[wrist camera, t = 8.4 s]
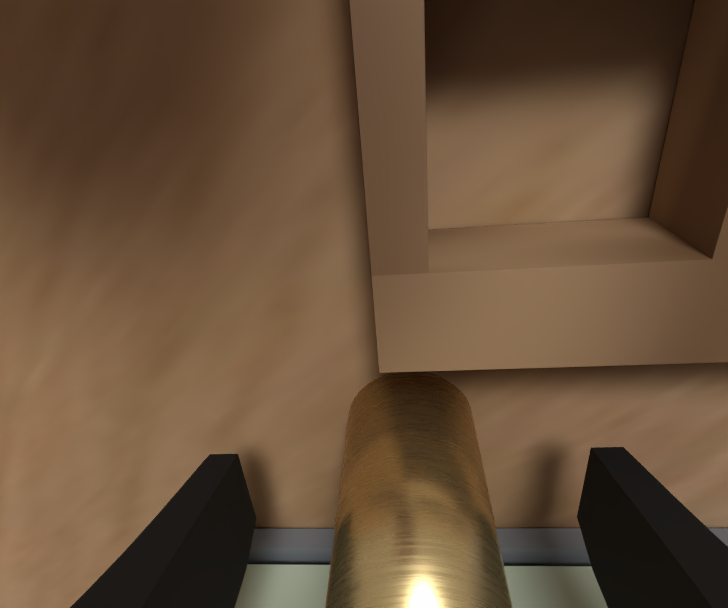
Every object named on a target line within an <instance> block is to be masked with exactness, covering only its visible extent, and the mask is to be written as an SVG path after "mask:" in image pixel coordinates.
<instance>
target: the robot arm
mask: <svg viewBox="0 0 728 608" xmlns="http://www.w3.org/2000/svg"><path fill="white" fill-rule="evenodd" d="M577 518H578V522H579V525H580V529H581V532H582V536H583V539H584V543H585V547H586V550H587V553H588V556H589V560H590V563H591V566H592V570H593V572H594V575H595V577H596V580H597V582H598V585H599V587H600V590H601V592H602V594H603V597H604V599H605V602H606V604H607V607H608V608H728V546H727V545H726V544H725V543H723V542H722V541H721V540H720V539H719V538H718V537H717V536H716V535H715V534H714V533H712V532H711V531H710V530H709V529H708V528H707V527H706V526H705V525H704V524H703V523H702V522H701V521H699V520H698V519H697V518H696V517H695V516H694V515H693V514H692V513H691V512H690V511H689V510H688V509H687V508H686V507H685V506H684V505H683V504H682V503H681V502H679V501H678V500H677V499H676V498H675V497H674V496H673V495H672V494H671V493H670V492H669V491H668V490H667V489H666V488H665V487H664V486H663V485H662V484H661V483H660V482H659V481H658V480H657V479H656V478H655V477H654V476H653V475H652V474H651V473H649V472H648V471H647V470H646V469H645V468H644V467H643V466H642V465H641V464H640V463H639V462H638V461H637V460H636V459H635V458H634V457H633V456H632V455H631V454H630V453H629V452H628V451H627V450H626V449H625V448H623V447H605V448H591V450H590V455H589V460H588V465H587V470H586V475H585V480H584V485H583V490H582V495H581V500H580V505H579V510H578V515H577ZM255 522H256V516H255V513H254V509H253V506H252V502H251V499H250V495H249V492H248V488H247V485H246V481H245V478H244V474H243V471H242V467H241V463H240V460H239V456H238V454H210V455H209V456H208V457H207V458H206V459H205V460H204V462H203V463H202V464H201V465H200V466H199V467H198V468H197V470H196V471H195V472H194V473H193V474H192V475H191V477H190V478H189V479H188V480H187V481H186V482H185V484H184V485H183V486H182V487H181V488H180V489H179V491H178V492H177V493H176V494H175V495H174V496H173V498H172V499H171V500H170V501H169V502H168V503H167V505H166V506H165V507H164V508H163V509H162V510H161V511H160V513H159V514H158V515H157V516H156V517H155V518H154V519H153V520H152V522H151V523H150V524H149V525H148V526H147V527H146V528H145V529H144V531H143V532H142V533H141V534H140V535H139V536H138V537H137V538H136V539H135V541H134V542H133V543H132V544H131V545H130V546H129V547H128V548H127V549H126V551H125V552H124V553H123V554H122V555H121V556H120V557H119V558H118V559H117V560H116V561H115V562H114V563H113V564H112V565H111V566H110V567H109V568H108V569H107V570H106V571H105V573H104V574H103V575H102V576H101V577H100V578H99V579H98V580H97V581H96V582H95V583H94V584H93V585H92V586H91V587H90V588H89V589H88V590H87V591H86V592H85V593H84V594H83V595H82V596H81V597H80V598H79V599H78V600H77V601H76V602H75V603H74V604H73V605H72V606H71V607H70V608H235V605H236V601H237V598H238V595H239V592H240V588H241V585H242V582H243V579H244V575H245V572H246V568H247V563H248V559H249V554H250V549H251V544H252V538H253V533H254V527H255Z"/></svg>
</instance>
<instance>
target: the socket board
mask: <svg viewBox="0 0 728 608" xmlns="http://www.w3.org/2000/svg"><path fill="white" fill-rule="evenodd" d="M349 1H350V13H351V26H352V38H353V51H354V63H355V76H356V88H357V101H358V113H359V126H360V138H361V151H362V163H363V176H364V188H365V200H366V213H367V225H368V238H369V250H370V263H371V275H372V288H373V300H374V313H375V325H376V338H377V350H378V363H379V373H387V372H420V371H453V370H486V369H519V368H552V367H585V366H618V365H651V364H684V363H717V362H728V0H695V3H694V7H693V12H692V17H691V21H690V26H689V31H688V35H687V40H686V45H685V49H684V54H683V59H682V63H681V68H680V73H679V77H678V82H677V87H676V92H675V96H674V101H673V106H672V110H671V115H670V120H669V124H668V129H667V134H666V138H665V143H664V148H663V152H662V157H661V162H660V166H659V171H658V176H657V181H656V185H655V190H654V195H653V199H652V204H651V209H650V213H649V217H643V218H625V219H608V220H590V221H572V222H555V223H537V224H520V225H502V226H485V227H467V228H449V229H432V230H428V205H427V146H426V86H425V27H424V0H349Z"/></svg>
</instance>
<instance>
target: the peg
mask: <svg viewBox="0 0 728 608" xmlns="http://www.w3.org/2000/svg"><path fill="white" fill-rule="evenodd" d="M325 608H513V607H512V602H511V597H510V592H509V588H508V583H507V578H506V573H505V569H504V564H503V559H502V554H501V550H500V545H499V540H498V535H497V531H496V526H495V521H494V516H493V512H492V507H491V502H490V497H489V493H488V488H487V483H486V478H485V474H484V469H483V464H482V459H481V455H480V450H479V445H478V440H477V435H476V431H475V426H474V421H473V416H472V412H471V407H470V405H469V403H468V401H467V399H466V397H465V396H464V395H463V393H462V392H461V391H460V390H459V389H458V388H457V387H456V386H454V385H453V384H452V383H450V382H449V381H447V380H445V379H443V378H441V377H438V376H435V375H432V374H428V373H423V372H397V373H392V374H388V375H385V376H382V377H380V378H378V379H376V380H374V381H372V382H371V383H369V384H368V385H366V386H365V387H364V388H363V389H362V390H361V391H360V392H359V393H358V394H357V396H356V397H355V399H354V401H353V403H352V405H351V408H350V413H349V420H348V428H347V436H346V444H345V452H344V460H343V468H342V476H341V484H340V492H339V500H338V508H337V516H336V524H335V532H334V540H333V548H332V556H331V564H330V572H329V580H328V588H327V596H326V604H325Z"/></svg>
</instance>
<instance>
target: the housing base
mask: <svg viewBox="0 0 728 608" xmlns="http://www.w3.org/2000/svg"><path fill="white" fill-rule="evenodd" d="M708 529H709V530H710V531H711V532H712V533H714V534H715V535H716V536H717V537H718V538H719V539H720V540H721V541H722V542H723V543H725V544H726V545H727V546H728V528H708ZM496 531H497V535H498V540H499V545H500V550H501V554H502V559H503V564H504V566H591V563H590V560H589V556H588V553H587V550H586V547H585V543H584V539H583V536H582V532H581V529H580V528H496ZM334 532H335V529H254V533H253V538H252V544H251V549H250V554H249V559H248V563H247V564H266V565H330V564H331V556H332V548H333V540H334ZM591 567H592V566H591Z"/></svg>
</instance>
